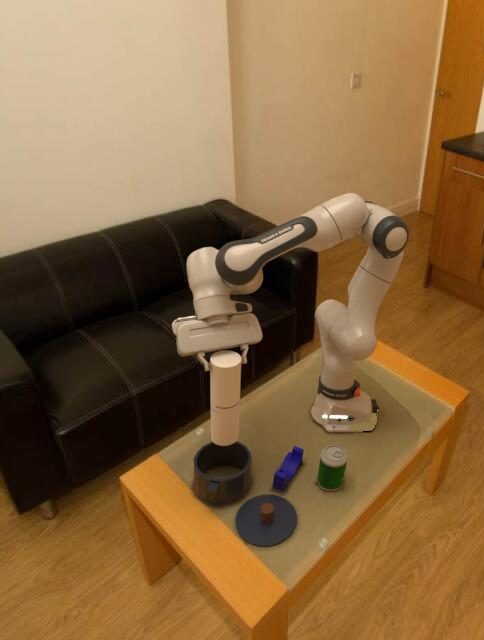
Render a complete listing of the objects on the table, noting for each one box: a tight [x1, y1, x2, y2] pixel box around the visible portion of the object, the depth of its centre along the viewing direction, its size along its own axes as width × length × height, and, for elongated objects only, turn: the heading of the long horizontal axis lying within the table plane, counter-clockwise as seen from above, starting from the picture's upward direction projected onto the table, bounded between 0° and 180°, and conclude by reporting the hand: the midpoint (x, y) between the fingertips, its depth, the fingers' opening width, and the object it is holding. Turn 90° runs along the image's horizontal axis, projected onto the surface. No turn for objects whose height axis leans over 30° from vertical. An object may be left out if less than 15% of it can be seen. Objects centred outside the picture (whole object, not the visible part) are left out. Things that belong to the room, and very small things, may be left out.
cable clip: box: [272, 445, 305, 493], centre depth 139 cm, size 12×4×6 cm, turn 160°
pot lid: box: [235, 493, 298, 548], centre depth 126 cm, size 15×15×5 cm
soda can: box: [316, 444, 349, 492], centre depth 138 cm, size 8×8×12 cm
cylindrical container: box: [209, 349, 242, 446], centre depth 125 cm, size 7×7×25 cm
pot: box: [193, 440, 253, 506], centre depth 132 cm, size 15×20×10 cm
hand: (226, 367), depth 119 cm, fingers closed on cylindrical container, 7 cm apart
